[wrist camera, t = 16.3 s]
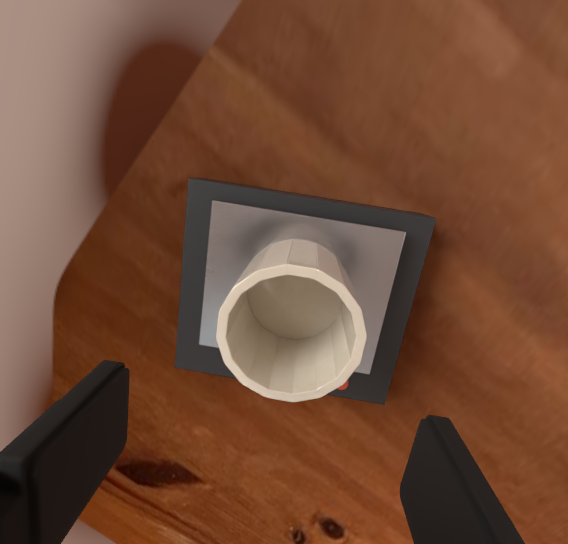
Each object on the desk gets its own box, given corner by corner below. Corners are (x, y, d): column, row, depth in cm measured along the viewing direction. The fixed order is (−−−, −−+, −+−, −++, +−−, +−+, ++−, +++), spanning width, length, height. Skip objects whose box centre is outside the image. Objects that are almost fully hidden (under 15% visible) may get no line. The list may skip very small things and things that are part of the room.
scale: (185, 351, 29) (173, 368, 26) (199, 177, 25) (187, 178, 22) (378, 385, 28) (385, 406, 26) (424, 214, 24) (437, 218, 22)
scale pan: (202, 339, 25) (198, 344, 24) (215, 199, 22) (212, 200, 21) (367, 368, 24) (369, 374, 24) (403, 229, 22) (406, 231, 21)
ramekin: (236, 331, 24) (210, 388, 17) (249, 230, 22) (224, 253, 15) (338, 349, 23) (348, 412, 17) (360, 248, 21) (381, 279, 15)
